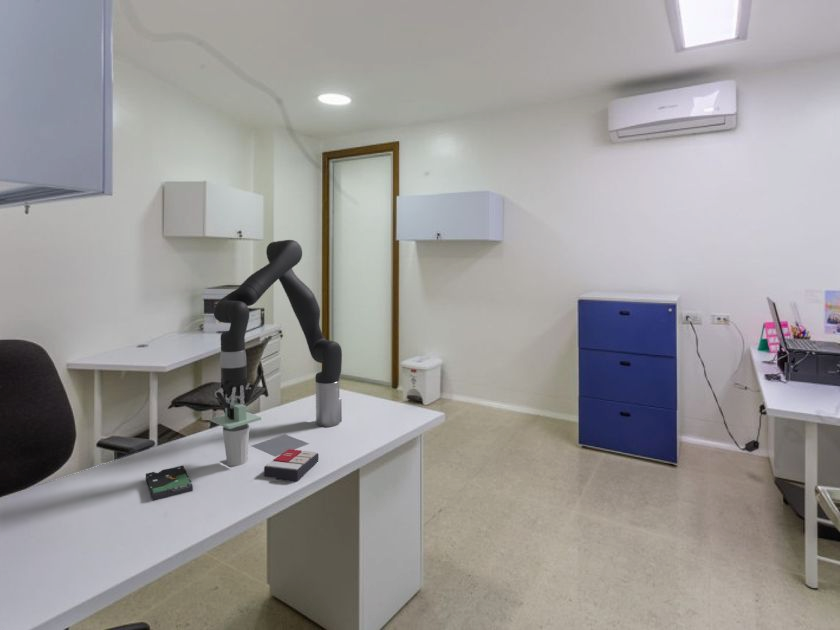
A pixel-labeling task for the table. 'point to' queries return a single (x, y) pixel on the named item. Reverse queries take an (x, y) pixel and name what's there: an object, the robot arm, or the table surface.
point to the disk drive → (168, 483)
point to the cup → (236, 444)
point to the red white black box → (291, 465)
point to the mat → (280, 445)
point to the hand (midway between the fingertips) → (235, 417)
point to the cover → (236, 417)
